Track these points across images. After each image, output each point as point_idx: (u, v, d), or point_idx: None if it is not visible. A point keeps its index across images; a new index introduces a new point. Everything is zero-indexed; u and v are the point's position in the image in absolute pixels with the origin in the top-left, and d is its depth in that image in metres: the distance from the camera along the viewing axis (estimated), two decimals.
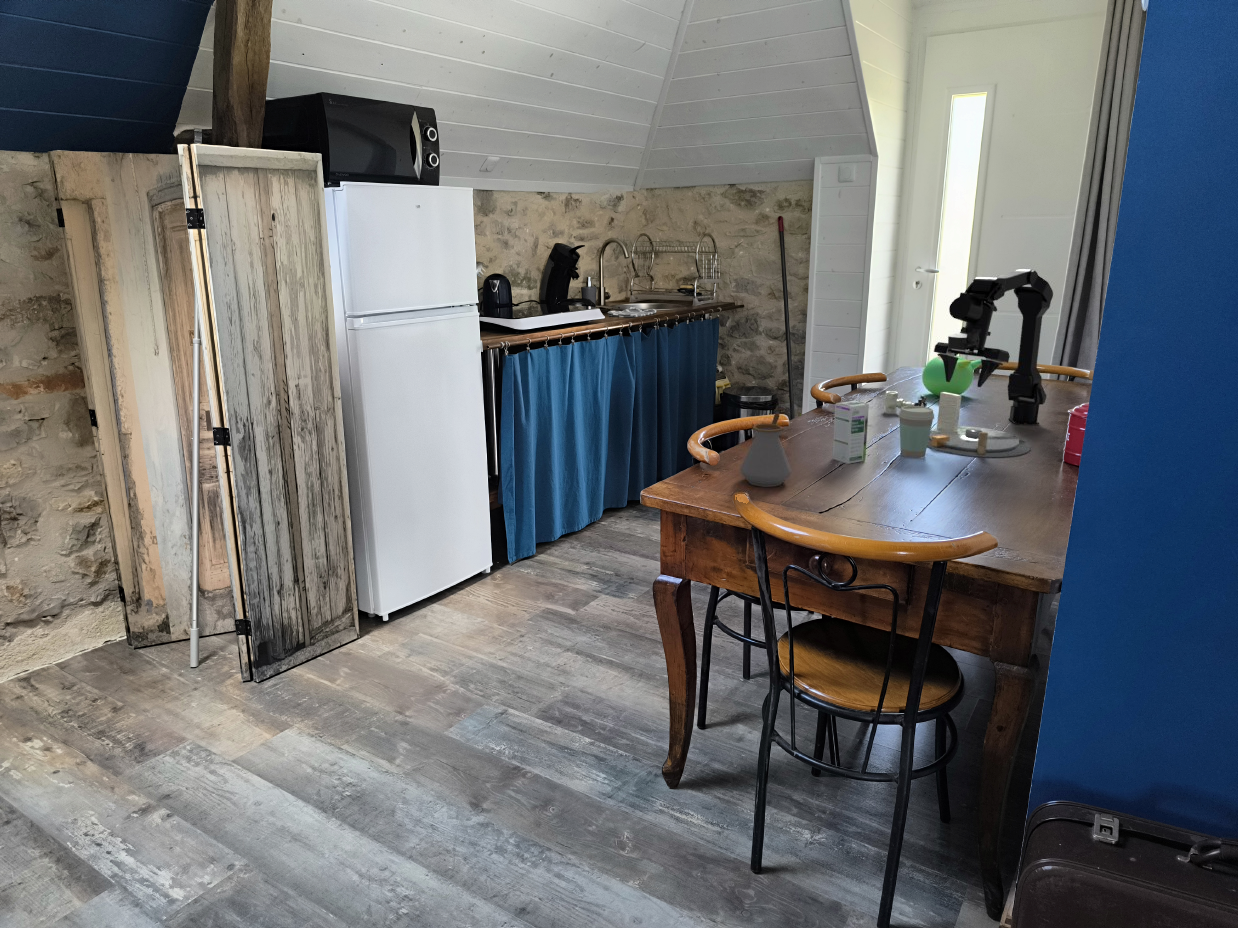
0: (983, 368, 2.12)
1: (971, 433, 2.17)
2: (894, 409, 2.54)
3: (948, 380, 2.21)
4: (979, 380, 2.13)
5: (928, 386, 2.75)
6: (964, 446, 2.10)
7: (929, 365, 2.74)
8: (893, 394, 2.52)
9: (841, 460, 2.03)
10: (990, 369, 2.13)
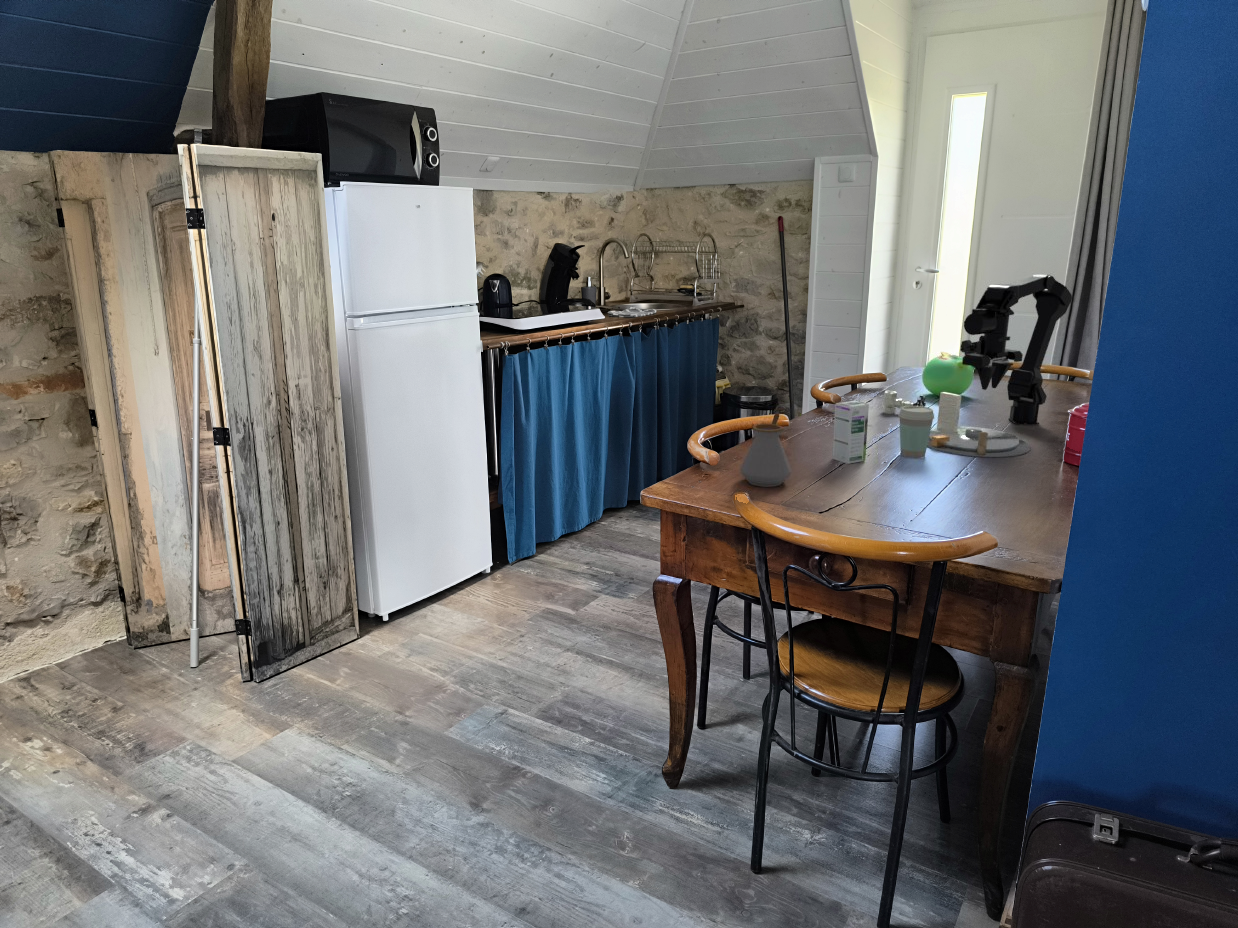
0: None
1: (971, 433, 2.17)
2: (893, 409, 2.54)
3: (993, 386, 2.30)
4: None
5: (928, 386, 2.75)
6: (964, 446, 2.10)
7: (929, 365, 2.74)
8: (892, 394, 2.52)
9: (841, 460, 2.03)
10: (986, 372, 2.25)
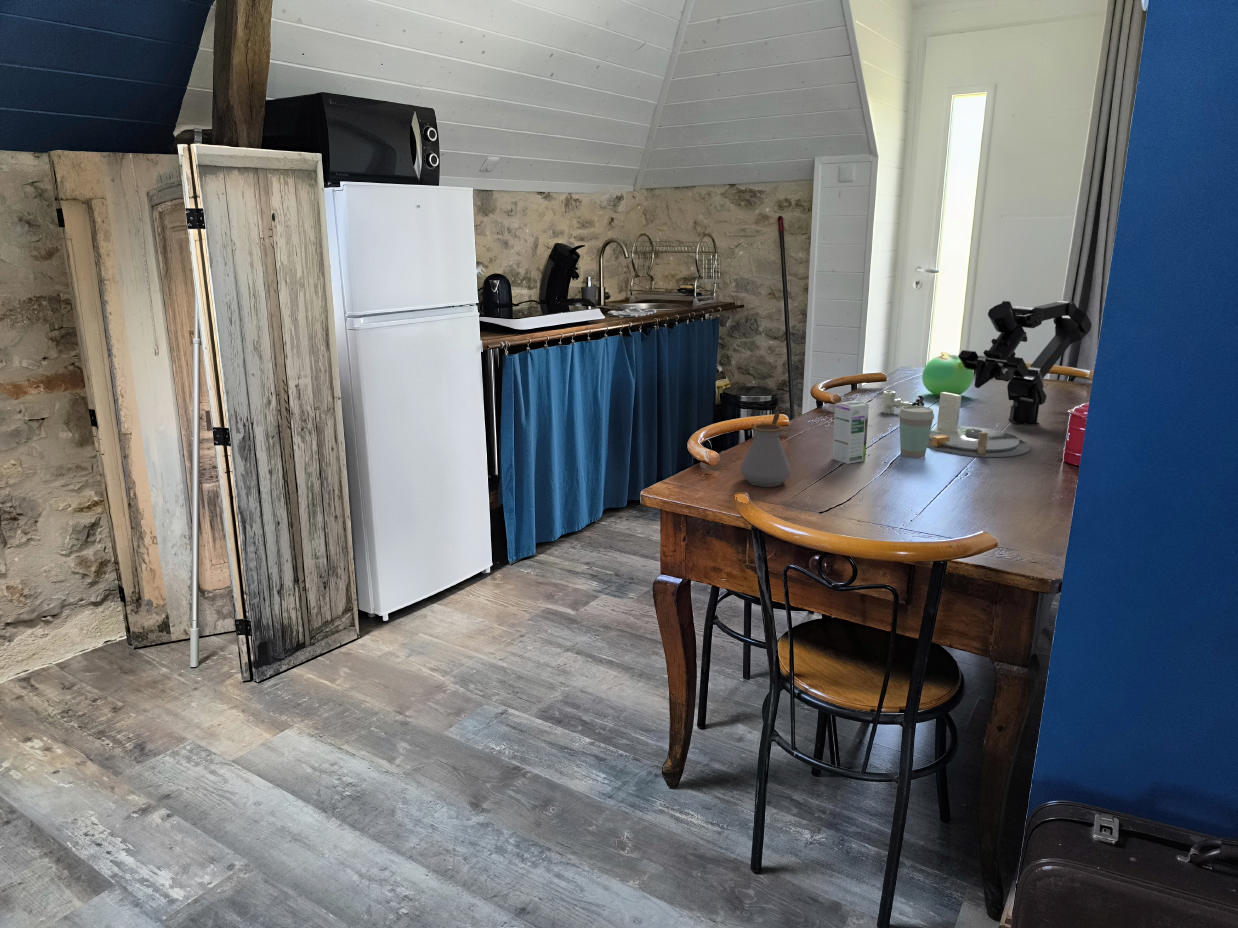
0: None
1: (971, 433, 2.17)
2: (892, 409, 2.54)
3: None
4: None
5: (928, 386, 2.75)
6: (964, 446, 2.10)
7: (929, 365, 2.74)
8: (891, 394, 2.53)
9: (841, 460, 2.03)
10: None
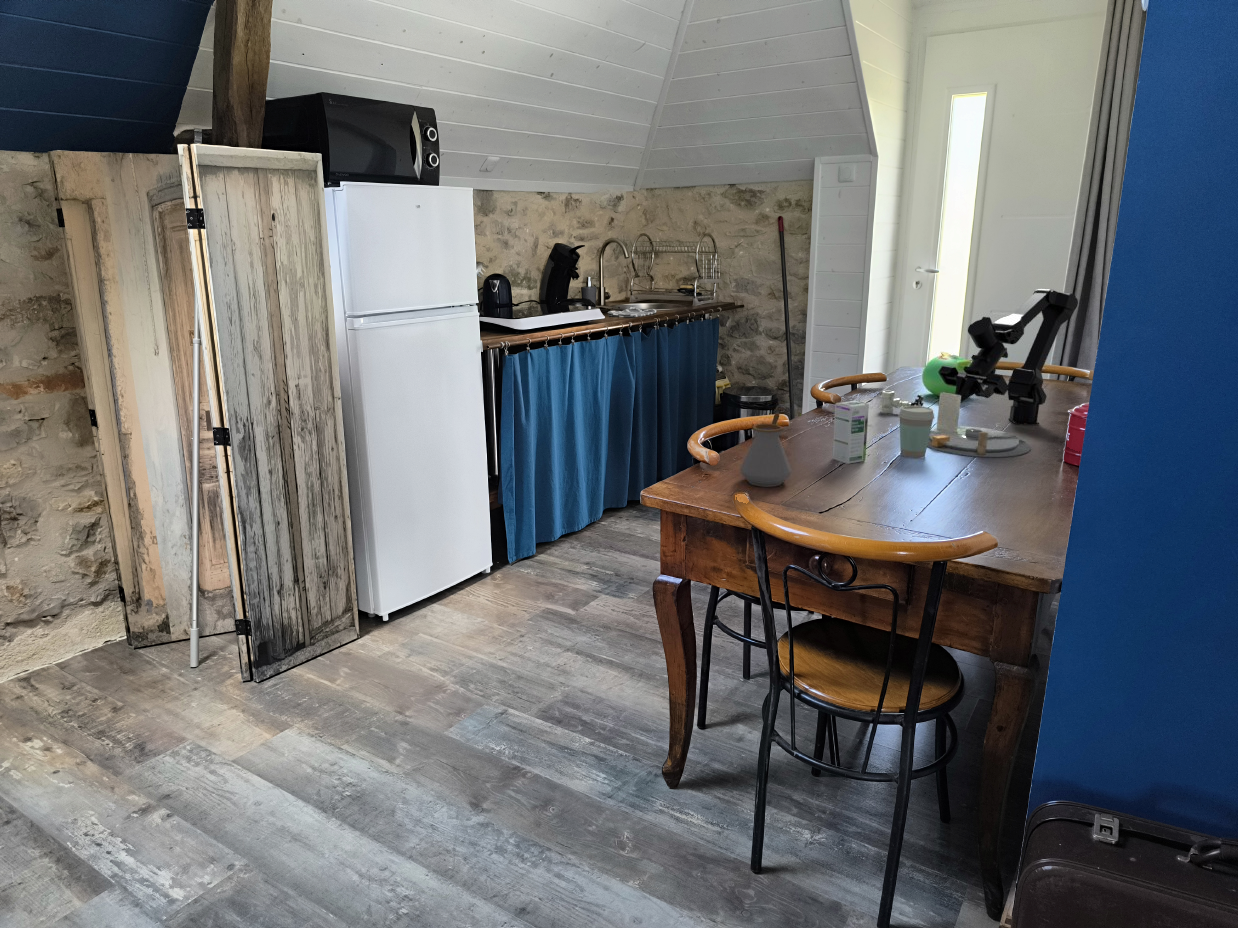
0: None
1: (971, 433, 2.17)
2: (891, 408, 2.55)
3: None
4: None
5: (928, 386, 2.75)
6: (965, 446, 2.10)
7: (929, 365, 2.74)
8: (890, 394, 2.53)
9: (841, 460, 2.03)
10: None
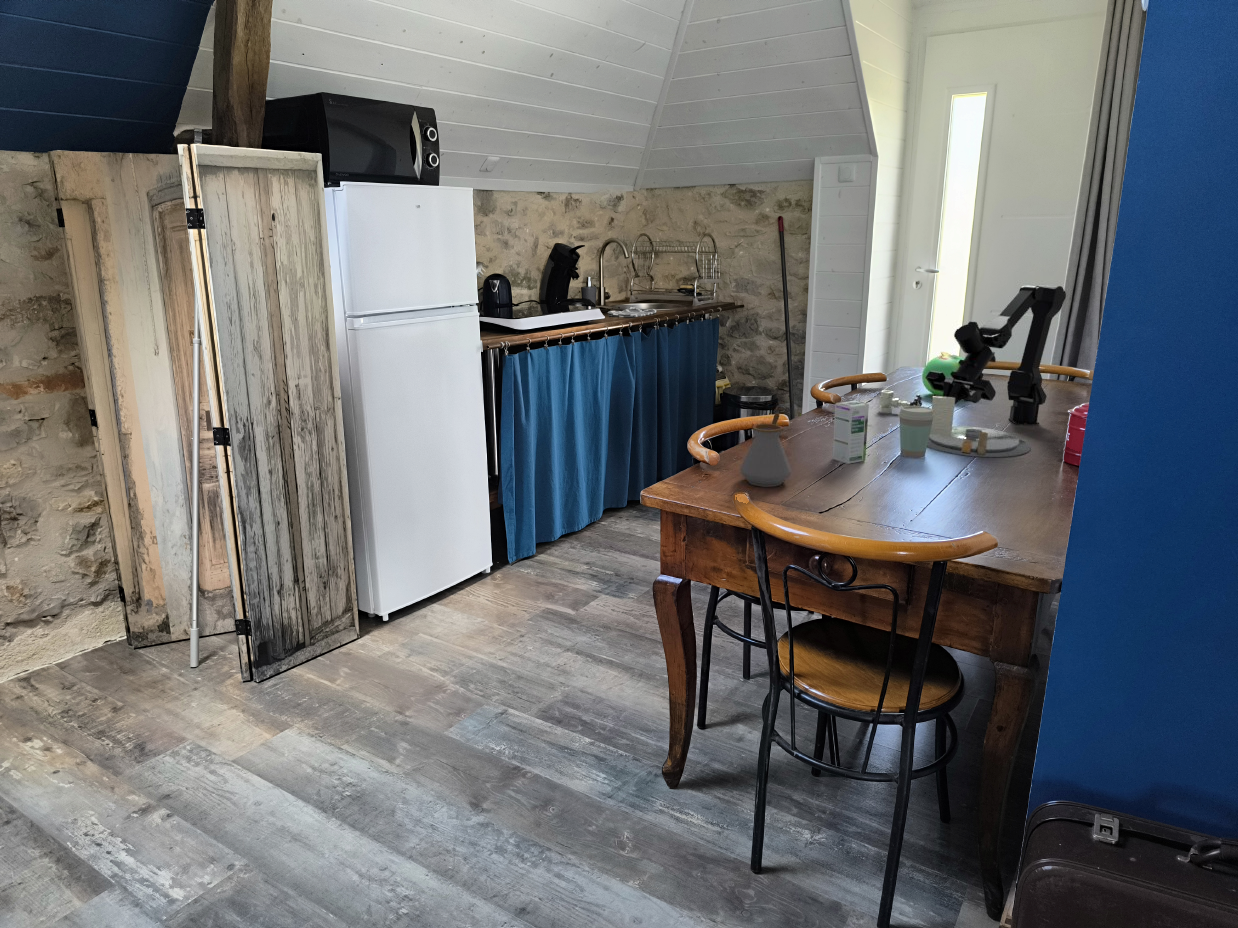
0: None
1: (976, 433, 2.17)
2: (890, 408, 2.55)
3: None
4: None
5: (928, 386, 2.75)
6: (995, 448, 2.08)
7: (929, 365, 2.74)
8: (889, 393, 2.53)
9: (841, 460, 2.03)
10: None
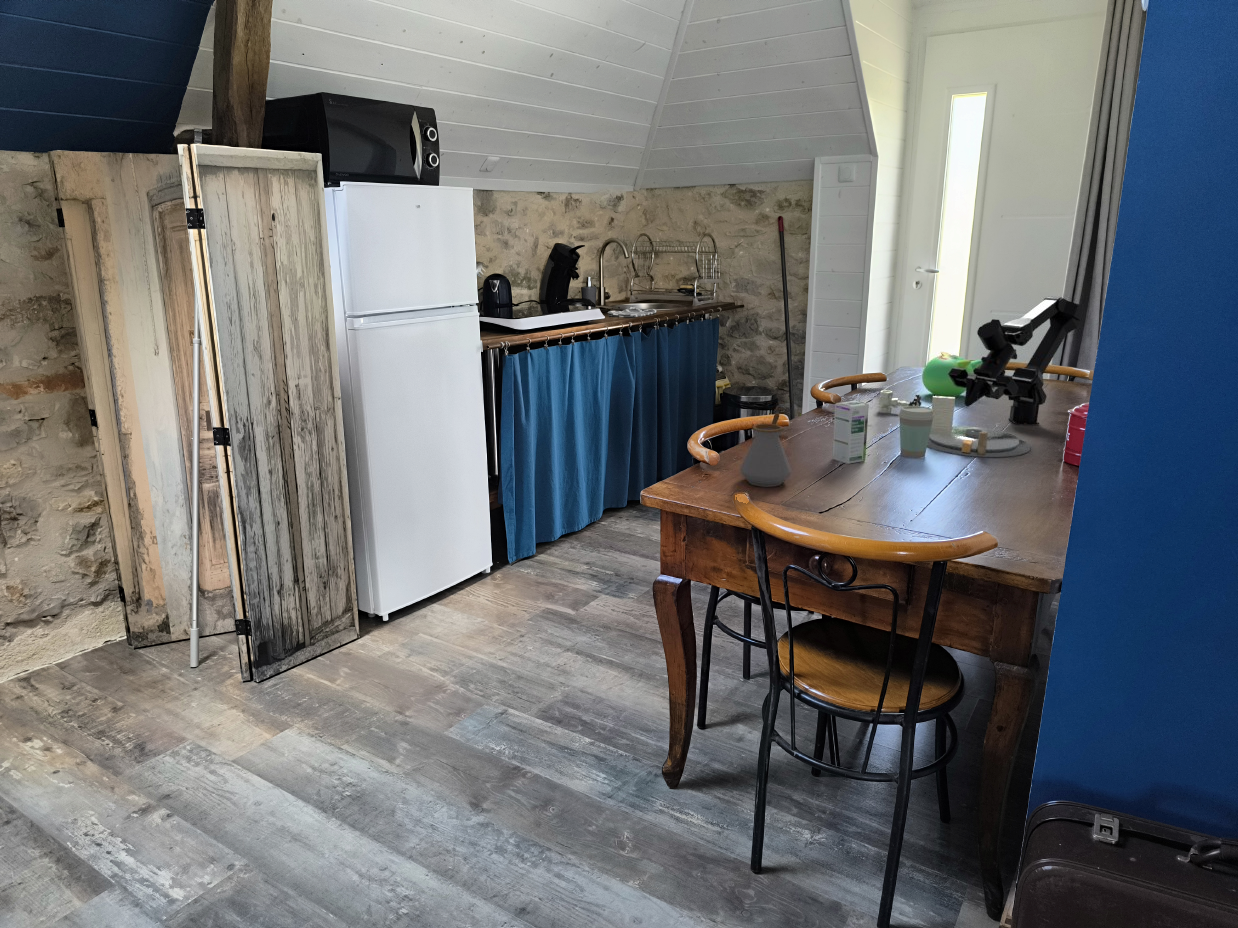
0: None
1: (976, 433, 2.17)
2: (889, 408, 2.55)
3: None
4: None
5: (928, 386, 2.75)
6: (995, 448, 2.08)
7: (929, 365, 2.74)
8: (888, 393, 2.53)
9: (841, 460, 2.03)
10: None
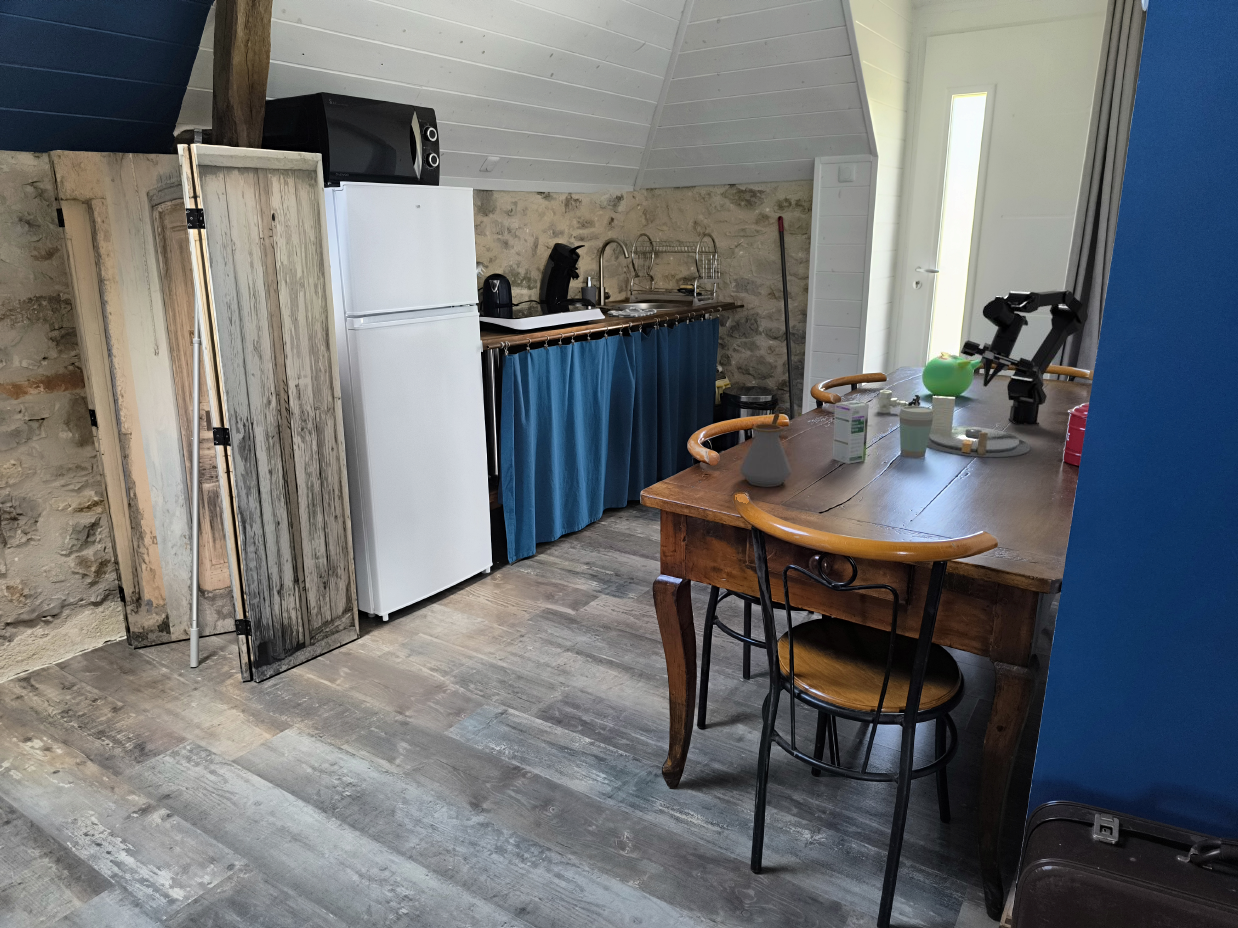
0: None
1: (976, 433, 2.17)
2: (888, 408, 2.55)
3: None
4: None
5: (928, 386, 2.75)
6: (995, 448, 2.08)
7: (929, 365, 2.74)
8: (887, 393, 2.53)
9: (841, 460, 2.03)
10: None
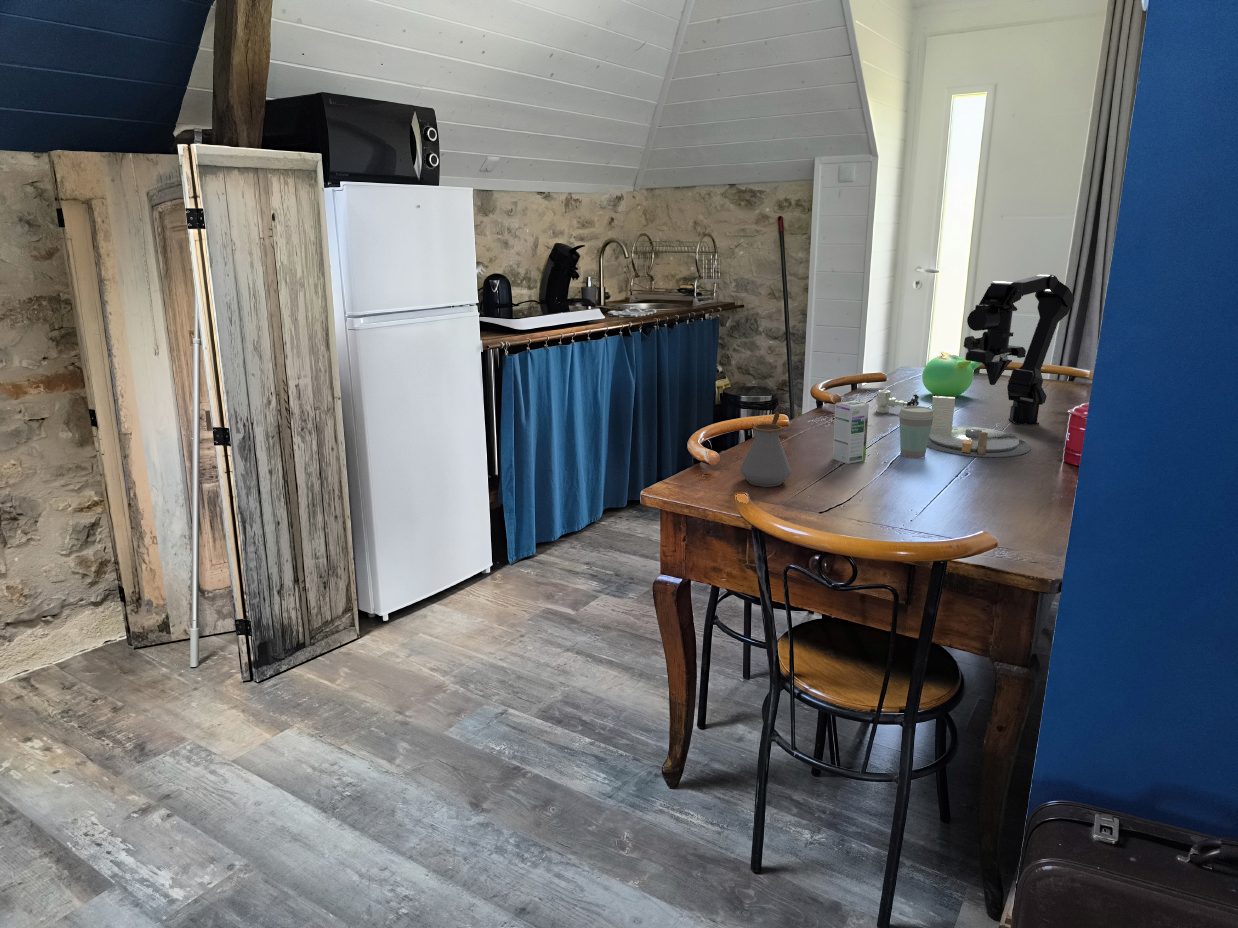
0: None
1: (976, 433, 2.17)
2: (887, 408, 2.55)
3: None
4: None
5: (928, 386, 2.75)
6: (995, 448, 2.08)
7: (929, 365, 2.74)
8: (886, 393, 2.54)
9: (841, 460, 2.03)
10: (994, 368, 2.26)
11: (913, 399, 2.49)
